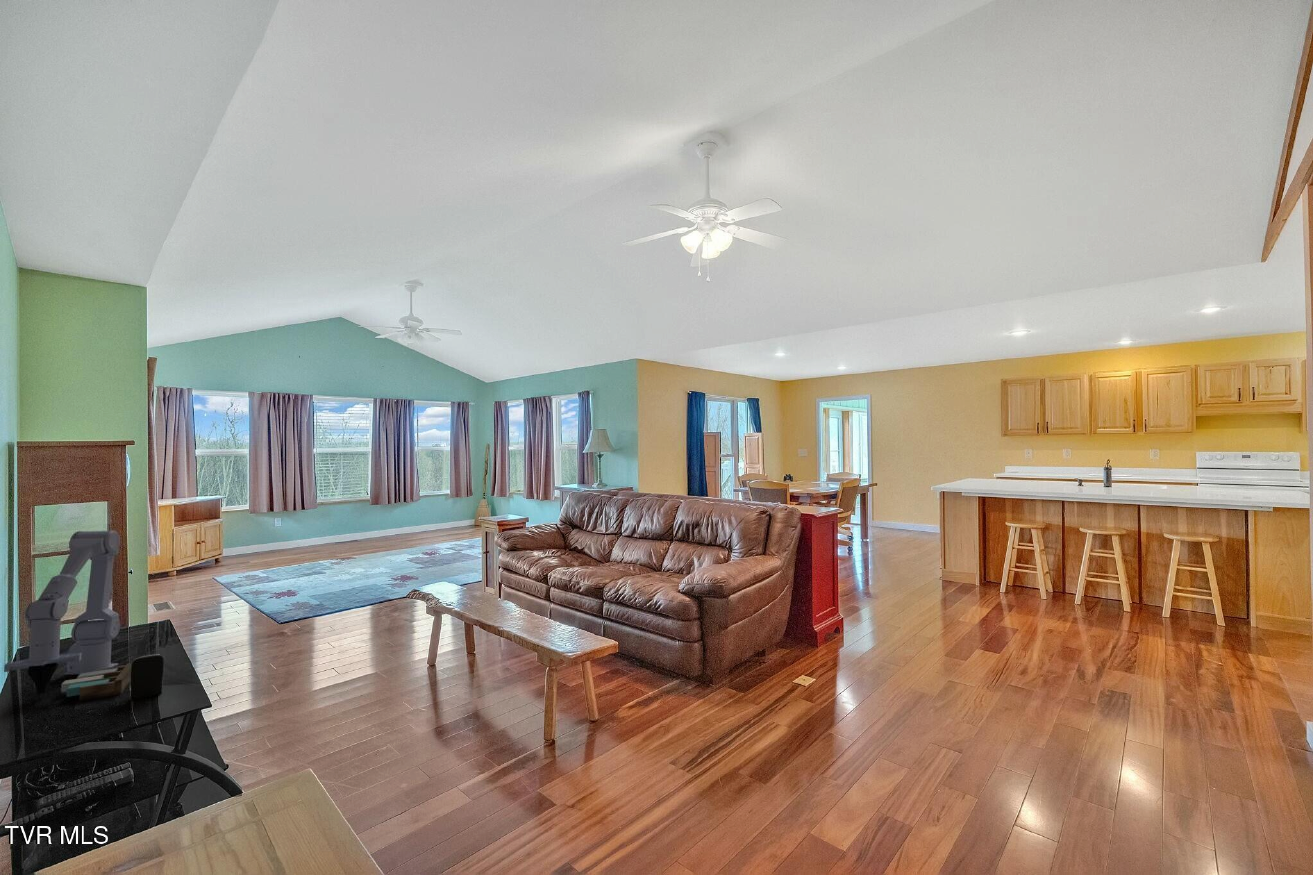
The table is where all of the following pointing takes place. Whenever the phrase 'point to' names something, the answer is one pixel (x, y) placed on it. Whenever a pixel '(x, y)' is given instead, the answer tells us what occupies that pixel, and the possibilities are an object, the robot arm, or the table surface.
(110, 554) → the robot arm
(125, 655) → the table surface
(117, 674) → the walnut key block
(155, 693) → the battery charger
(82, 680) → the off-white rectangular box
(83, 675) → the light grey rectangular block
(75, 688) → the teal flat slab
